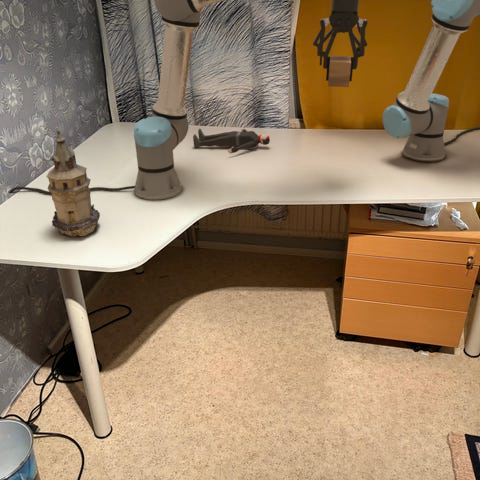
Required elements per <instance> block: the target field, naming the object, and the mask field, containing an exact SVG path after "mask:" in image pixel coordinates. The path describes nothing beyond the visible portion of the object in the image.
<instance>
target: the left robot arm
mask: <svg viewBox="0 0 480 480" xmlns="http://www.w3.org/2000/svg"><path fill="white" fill-rule="evenodd" d="M223 1H225V0H153V3H154V7H155V9H156V10H157V12H158V13H159V15H160V17H161V19H160V20H161V22H162V24H163V25H164V26H165V27H164V39H163V47H162V57H161V66H160V67H161V68H160V77H159V85H158V87H159V89H158V95H157V101H156V102H155V103H154V104H153V105H152V108H151V109H152V110H151V116H148V117H146V118H142V119H139V120H138V121H137V122H136V123H135V125H134V127H133V139H134V144H135V154H136V161H137V175H136V179H135V184H134V185H129V186H128V185H127V186H122V187H103V186H94V187H89V189H90V191H91V192H92V191H108V192H119V191H125V190H133V189H134V193H135V195H136V196H137V197H138V198H141V199H143V200H148V201H161V200H168V199H171V198H174V197H176V196H178V195H179V194H180V193H181V192H182V181H181V179H180V177H179V176H178V173H177V171H176V169H175V161H174V160H175V159H174V158H175V157H174V150H175V149H176V148H177V147H178V146H179V145H180V144H181V143H182V142H183V141H184V140H185V138H186V137H187V135H188V132H189V128H190V127H189V125H190V124H189V120H188V109H187V108H186V107H185V99H186V91H187V84H188V83H187V82H188V75H189V68H190V59H191V53H192V52H191V51H192V44H193V39H194V37H193V36H194V32H195V31H196V30H197V29H198V28H199V27H200V21H201V15H202V14H201V13H202V11H203V9H204V8H205V7H206V6H209V5H213V4H217V3H220V2H223ZM359 4H360V0H331V8H330V9H331V10H330V14H329V17H326V18H320V19H319V24H320V29H321V34H320V38H319V40H318V43H319V49H318V48H317V49H318V55H320V56H322V59H323V60H322V68H323V69H324V70H326V73H325V74H326V75H325V76H326V77H325V81H327V82H328V80H329V67H330V56H329V55H330V52H331V49H332V47H333V44H334V41H335V40H336V37H337V35H338V33H337V32H340V33H342V31H344V32H345V33H348V37H349V41H350V46H351V51H352V55H353V56H351V70H350V80H349V82H353V81H352V80H353V71H354V70H357V68H358V64H357V60H358V61H359V58H362V57H364V56H365V51H366V50H365V48H366V46H365V40H366V28H367V26H368V19H365V18H364V19H363V18H360V17H359ZM328 22H330V23H331V25H332V26H333V28H334V29H333V32H332V34H331V36H330V37H329V40H328V43H327V45H326V48H325V50H324V44H323V43H325V42H324V37H325V36H326V28H327V27H328V26H329V24H328ZM357 22H359V26H360V27H361V33H360V34H359V38H360V39H359V41H360V52H357V44H356V42H355V40H354V35H353V33H354V32H353V29H354V28H355V27H356V26H355V25H356V24H357ZM327 25H328V26H327ZM331 25H330V26H331ZM332 26H331V27H332ZM322 50H323V51H322ZM320 56H319V57H320ZM17 190H23V191H24V190H25V191H32V192H33V191H34V192H40V193H42V194H45V195H52V193H51V192H50V191H49V190H45V189H41V188H37V187H28V186H15V187H12V188H11V189H9V191H8V194H12V193H13V192H15V191H17ZM25 288H26V291H27V297H31V296H32V295H31V290H30V286H29V284H27V283H25Z"/></svg>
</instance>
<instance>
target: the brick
mask: <svg viewBox="0 0 480 480" xmlns="http://www.w3.org/2000/svg"><path fill="white" fill-rule="evenodd" d="M329 57H330V67H329V80H328V81H327V87H330V88H331V87H336V88H349V87H350V81H349V80H350V70H351V57H352V56H351V55H330V56H329Z"/></svg>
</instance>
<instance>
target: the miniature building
mask: <svg viewBox="0 0 480 480" xmlns="http://www.w3.org/2000/svg"><path fill="white" fill-rule="evenodd" d="M56 134H57V136H56V138H55V140H54V141H55V142H56V147H55V154H54V156H52V157H51V161H52V162H53V165H54V167H53V168H51V169H50V170H49V171H48V173H47V174H46V178H47V179H48V182H49V184H48V186H47V191H49V192H51V193H52V194H51V200H52V201H53V205H54V209H55V211H53V217H52V220H51V223H52V225H51V227H54V228H56V229H58V230H59V231H60V234H63V235H64V234H65V235H66V236H69V237H77V236H80V237H83V236H87V235H88V234H90V233H93V232H94V231H95V229H96V226H97V225H98V223H99V220H100V216H101V213H100V212H99V210H98V209H96V208H95V204H92V201H91V200H92V199H91V198H92V197H91V192H92V190H91V191H90V189H89V188H90V184H91V178H89V177H88V174H87V167H85V166H84V165H83V166H82V165H80V164H77V160H76V154H75V151H74V150H70V149H69V147H68V145H67V143H66V138H65V137H64V136H63V135H61V130H60V129H56Z"/></svg>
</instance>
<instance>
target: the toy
mask: <svg viewBox="0 0 480 480" xmlns="http://www.w3.org/2000/svg"><path fill="white" fill-rule="evenodd" d="M202 130H203V129H201V128H198V130H197V134H198V136H197V134H193V136H192V141H193V147H194V148H195V149H198V148H201V147H210V148H211V147H228V148H229V149H227V153H229V154H230V155H231V154H234V153H238V152H239V151H242V150H245V149H248V150H254V149H257V148H258V146H259V144H260V145H264V146H267V145H269V144H270V142H271V139H270V136H269V135H268V134H259V135H258V134H257V133H256V132H255V131H254V130H247V129H245V128H241V129H240V131H239V130H238V131H237V130H234V131H225V132H220V133H215V134H208V135H205V133H204V132H203V131H202Z"/></svg>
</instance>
